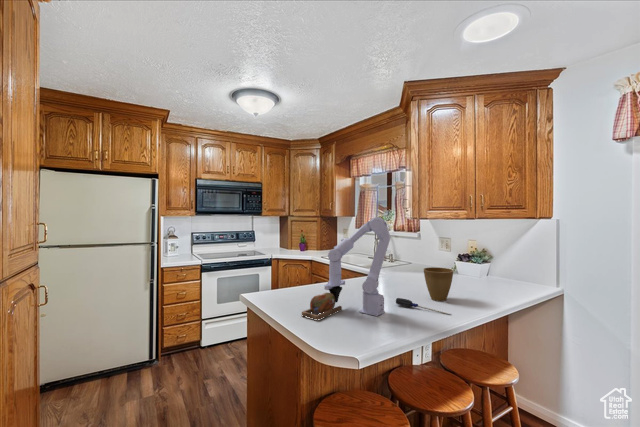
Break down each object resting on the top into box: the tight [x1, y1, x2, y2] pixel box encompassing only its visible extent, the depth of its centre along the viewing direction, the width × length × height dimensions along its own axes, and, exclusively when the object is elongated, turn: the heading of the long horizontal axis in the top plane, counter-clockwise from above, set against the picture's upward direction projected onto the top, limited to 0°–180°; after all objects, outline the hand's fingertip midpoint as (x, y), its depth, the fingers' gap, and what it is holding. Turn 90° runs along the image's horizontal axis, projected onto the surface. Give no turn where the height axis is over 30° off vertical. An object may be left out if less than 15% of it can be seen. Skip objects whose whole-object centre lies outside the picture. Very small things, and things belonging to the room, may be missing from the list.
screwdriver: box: [395, 297, 452, 316], centre depth 142 cm, size 26×4×4 cm, turn 55°
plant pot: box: [423, 266, 454, 302], centre depth 159 cm, size 15×15×16 cm
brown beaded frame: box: [301, 305, 343, 320], centre depth 136 cm, size 9×18×2 cm, turn 141°
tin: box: [309, 292, 336, 315], centre depth 137 cm, size 15×3×8 cm, turn 136°
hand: (335, 301), depth 144 cm, fingers closed
